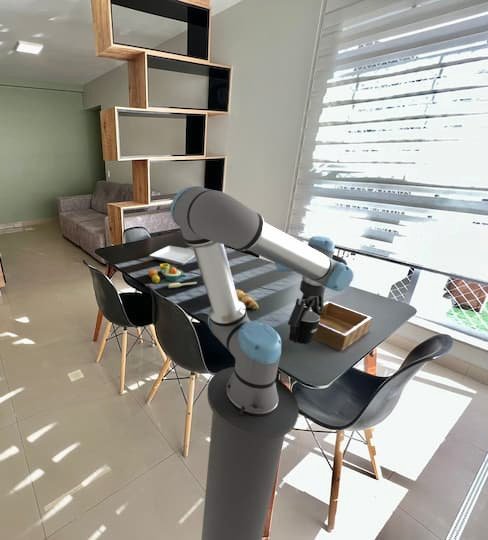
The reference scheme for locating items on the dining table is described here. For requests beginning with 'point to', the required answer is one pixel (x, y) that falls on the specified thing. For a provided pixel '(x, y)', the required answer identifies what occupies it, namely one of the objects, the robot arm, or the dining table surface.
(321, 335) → the crate
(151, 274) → the toy juicer set
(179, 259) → the square plate
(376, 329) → the dining table surface
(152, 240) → the dining table surface
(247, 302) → the croissant
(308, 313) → the mug
